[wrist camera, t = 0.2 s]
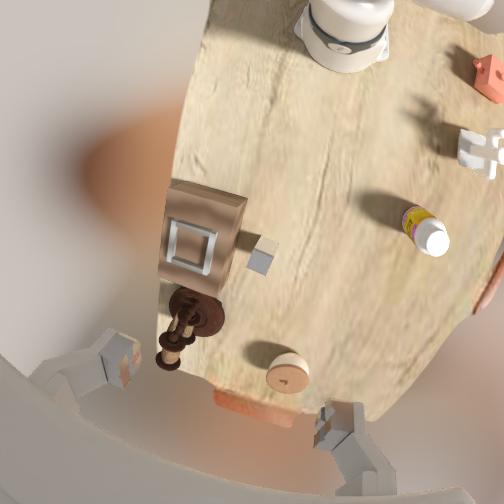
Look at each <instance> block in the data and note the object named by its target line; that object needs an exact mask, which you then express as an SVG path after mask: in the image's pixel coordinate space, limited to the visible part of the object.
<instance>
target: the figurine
mask: <svg viewBox="0 0 504 504" xmlns="http://www.w3.org/2000/svg"><path fill="white" fill-rule="evenodd" d="M499 138H504V129H501V128H489V129H487V131H486V137H485V136H482V135H479V134H476V133H473V132H470V131H466V130H463V129H461V131H460V134H459V137H458V153H457V159H458V163H459V165H461V166H465V167H469V168H473V169H476V170H475V172H476V174H477V175H478V176H480V177H483V178H486V179H494V177H495V173H496V163H499V164H503V165H504V148H503V147H498V139H499Z"/></svg>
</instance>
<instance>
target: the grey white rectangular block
mask: <svg viewBox="0 0 504 504" xmlns="http://www.w3.org/2000/svg"><path fill="white" fill-rule="evenodd" d="M278 244H279V243H278V242H276V241H273V240H271V239H269V238H267V237H264V236H262V235H261V237H260V239H259V240H258V242H257V244H256V246H255V247H254V249H253V252H252V254H251V256H250V259H249V261H248V264H247V266H246V267H247V268H249V269H251V270H253V271H256V272H258V273H260V274H263V275H265V276H266V273H267V271H268V269H269V267H270V265H271V262H272V260H273V258H274V255H275V252H276V250H277V247H278Z"/></svg>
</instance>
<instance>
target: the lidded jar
mask: <svg viewBox="0 0 504 504" xmlns="http://www.w3.org/2000/svg"><path fill="white" fill-rule="evenodd" d="M266 382H267V384H268V385H269V386H270V387H271V388H272V389H273V390H275V391H277V392H280V393H284V394H295V393H298V392H301V391H303V390H304V389H305V388H306V387H307V386H308V383H309V369H308V365H307V363H306V361H305V360H304V359H303V358H302V357H301V356H299V355H298V354H296V353H292V352H289V353H284V354H281V355H279V356H278V357H276V358H275V359H274V360H273V361H272V363H271V365H270V367H269V369H268V372H267V375H266Z"/></svg>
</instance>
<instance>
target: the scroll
mask: <svg viewBox="0 0 504 504" xmlns="http://www.w3.org/2000/svg"><path fill="white" fill-rule="evenodd" d="M169 309H170V313H171V316H172V318H173V320H172V321H171V323H170V325H169V327H168V329H167V332H164V333H162V334H161V335H160V337H159V343H160V345H161V347H162V348H163V349H162V351H161V352H159V353H158V354H157V355H156V363H157V365H158V366H159V367H160V368H162V369H164V370H167V371H173V370H176V369H178V368H179V366H180V364H181V361H180V358H179V355H180V352H181V351H182V350H183V349H184V348H185V346H186V345H190V344H192V343H194V341H195V336H199V337H209V336H212V335H215V334H216V333H218V332H219V331H220V329H221V328H222V326H223V324H224V320H225V314H224V310H223V308H222V303H221V302H219V301H218V300H217V299H216V298H214V297H211V296H209V295H206V294H203V293H200V292H198V291H195V290H192V289H190V288H187V287H182V288H180V289H178V290H177V291H176V292H175V293H174V294H173V295H172V297H171V298H170V302H169ZM175 327H176V329H175V330H174V328H175ZM173 330H174V331H173Z"/></svg>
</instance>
